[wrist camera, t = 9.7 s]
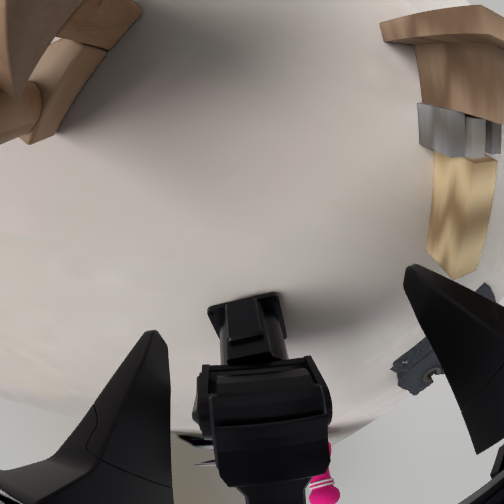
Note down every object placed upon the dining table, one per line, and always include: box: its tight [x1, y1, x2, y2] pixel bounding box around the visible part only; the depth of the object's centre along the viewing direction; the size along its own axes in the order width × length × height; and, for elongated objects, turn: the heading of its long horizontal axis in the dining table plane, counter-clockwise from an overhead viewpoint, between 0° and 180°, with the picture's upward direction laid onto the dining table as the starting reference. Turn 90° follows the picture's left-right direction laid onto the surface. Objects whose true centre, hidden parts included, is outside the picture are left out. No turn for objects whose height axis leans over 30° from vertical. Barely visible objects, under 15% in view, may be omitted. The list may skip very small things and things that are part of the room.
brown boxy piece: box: [380, 5, 504, 158], centre depth 11 cm, size 10×12×10 cm
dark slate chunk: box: [390, 283, 496, 395], centre depth 34 cm, size 15×22×5 cm
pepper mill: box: [309, 442, 340, 504], centre depth 39 cm, size 7×7×20 cm
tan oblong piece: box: [426, 113, 498, 280], centre depth 18 cm, size 14×4×5 cm, turn 13°
